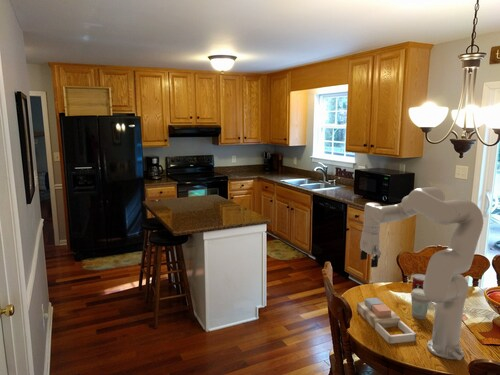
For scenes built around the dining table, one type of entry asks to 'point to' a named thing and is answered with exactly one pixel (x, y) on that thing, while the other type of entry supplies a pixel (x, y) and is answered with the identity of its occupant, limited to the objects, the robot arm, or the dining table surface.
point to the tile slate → (372, 302)
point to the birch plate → (373, 318)
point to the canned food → (418, 281)
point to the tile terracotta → (381, 310)
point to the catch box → (398, 338)
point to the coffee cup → (419, 304)
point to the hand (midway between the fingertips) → (368, 263)
